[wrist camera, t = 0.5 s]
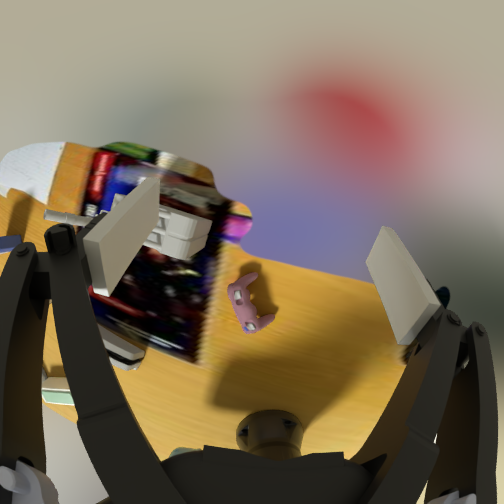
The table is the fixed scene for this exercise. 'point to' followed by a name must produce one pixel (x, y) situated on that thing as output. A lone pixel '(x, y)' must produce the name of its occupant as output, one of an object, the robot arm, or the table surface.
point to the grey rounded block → (121, 351)
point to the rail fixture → (56, 388)
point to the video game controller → (247, 305)
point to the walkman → (9, 243)
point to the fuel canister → (158, 229)
